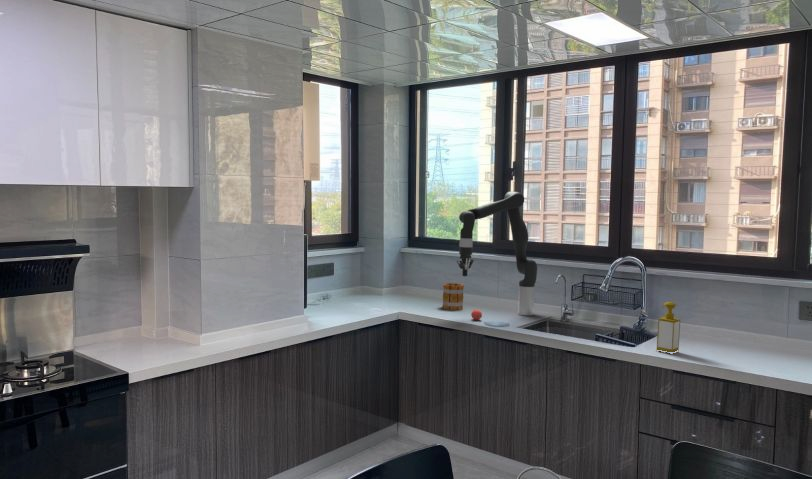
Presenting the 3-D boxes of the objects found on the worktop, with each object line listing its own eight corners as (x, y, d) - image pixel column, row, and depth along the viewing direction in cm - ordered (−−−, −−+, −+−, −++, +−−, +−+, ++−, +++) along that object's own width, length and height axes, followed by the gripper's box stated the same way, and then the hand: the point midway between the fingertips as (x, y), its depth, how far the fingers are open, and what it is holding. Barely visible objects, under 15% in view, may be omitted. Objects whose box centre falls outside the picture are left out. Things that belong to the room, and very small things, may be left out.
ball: (475, 318, 349) (475, 308, 349) (483, 320, 345) (484, 309, 345) (468, 319, 345) (469, 309, 344) (477, 321, 341) (477, 310, 340)
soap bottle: (651, 353, 279) (654, 302, 278) (662, 349, 288) (665, 300, 287) (667, 356, 274) (670, 305, 273) (678, 352, 283) (681, 302, 282)
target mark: (493, 320, 345) (493, 320, 345) (514, 324, 335) (514, 324, 335) (478, 323, 335) (478, 323, 335) (499, 327, 325) (499, 327, 325)
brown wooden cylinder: (459, 311, 371) (460, 286, 369) (438, 309, 376) (439, 285, 375) (468, 306, 389) (469, 283, 388) (448, 304, 394) (449, 281, 393)
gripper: (463, 247, 341) (462, 277, 342) (478, 246, 351) (477, 276, 352) (453, 246, 347) (452, 276, 348) (468, 245, 356) (466, 274, 357)
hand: (464, 276), depth 350 cm, fingers closed
